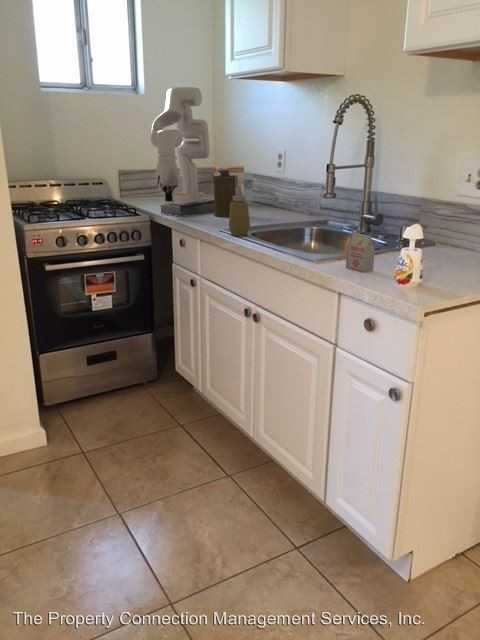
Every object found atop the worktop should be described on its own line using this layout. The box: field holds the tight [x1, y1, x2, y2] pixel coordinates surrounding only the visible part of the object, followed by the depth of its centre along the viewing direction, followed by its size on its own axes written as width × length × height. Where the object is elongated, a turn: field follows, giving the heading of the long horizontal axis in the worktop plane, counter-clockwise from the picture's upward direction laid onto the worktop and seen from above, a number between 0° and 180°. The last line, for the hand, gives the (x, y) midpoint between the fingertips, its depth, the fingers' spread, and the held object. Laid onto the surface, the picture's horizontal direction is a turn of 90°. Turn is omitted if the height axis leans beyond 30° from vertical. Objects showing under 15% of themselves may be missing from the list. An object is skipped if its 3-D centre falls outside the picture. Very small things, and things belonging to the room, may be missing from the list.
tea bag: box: [345, 232, 376, 274], centre depth 153 cm, size 4×7×10 cm, turn 36°
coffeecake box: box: [213, 165, 245, 196], centre depth 280 cm, size 15×7×20 cm, turn 92°
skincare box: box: [163, 175, 183, 205], centre depth 274 cm, size 8×7×16 cm
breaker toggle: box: [174, 192, 189, 205], centre depth 255 cm, size 4×6×5 cm
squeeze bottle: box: [228, 186, 251, 237], centre depth 201 cm, size 8×8×18 cm
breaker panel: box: [160, 199, 214, 217], centre depth 260 cm, size 24×14×5 cm, turn 137°
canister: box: [212, 170, 238, 218], centre depth 247 cm, size 11×10×20 cm
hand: (168, 201), depth 250 cm, fingers closed
